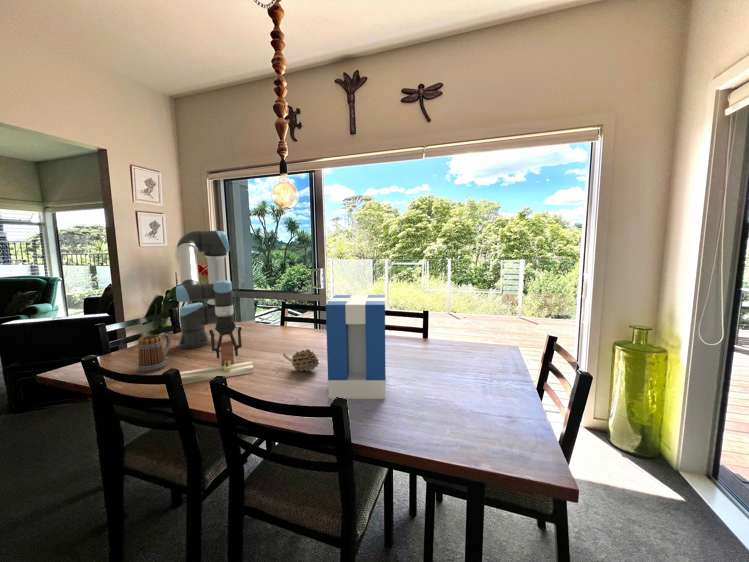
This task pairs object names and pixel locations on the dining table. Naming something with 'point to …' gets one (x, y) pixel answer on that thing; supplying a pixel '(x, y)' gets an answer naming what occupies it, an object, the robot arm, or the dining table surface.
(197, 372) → the board
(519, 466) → the dining table surface
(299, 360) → the pine cone
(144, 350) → the mug
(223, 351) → the block
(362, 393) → the toy block
